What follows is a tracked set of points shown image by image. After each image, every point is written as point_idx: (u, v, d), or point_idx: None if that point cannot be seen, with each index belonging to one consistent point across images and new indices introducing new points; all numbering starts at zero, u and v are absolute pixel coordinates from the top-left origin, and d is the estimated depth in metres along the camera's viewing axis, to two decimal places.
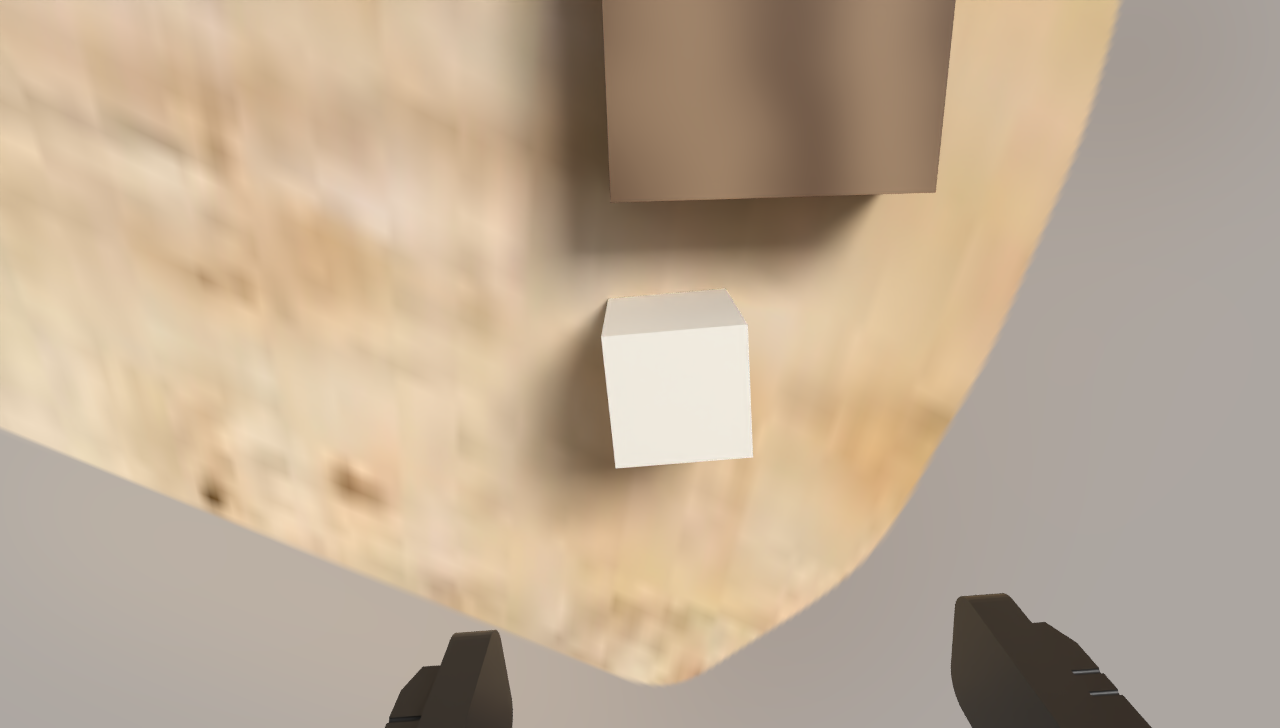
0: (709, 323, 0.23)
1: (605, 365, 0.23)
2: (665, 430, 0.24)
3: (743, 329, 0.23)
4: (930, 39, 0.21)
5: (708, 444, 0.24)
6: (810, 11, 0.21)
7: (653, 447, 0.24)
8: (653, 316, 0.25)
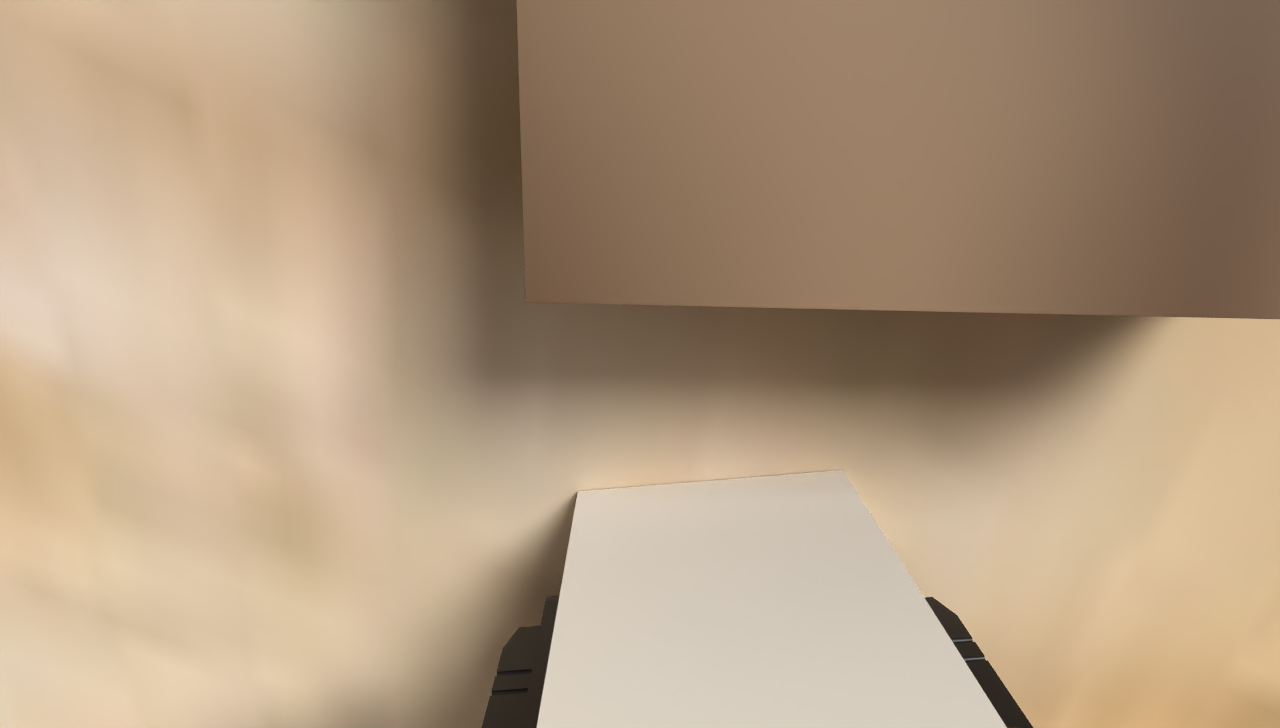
0: (874, 708, 0.07)
1: None
2: None
3: None
4: None
5: None
6: None
7: None
8: (690, 620, 0.09)
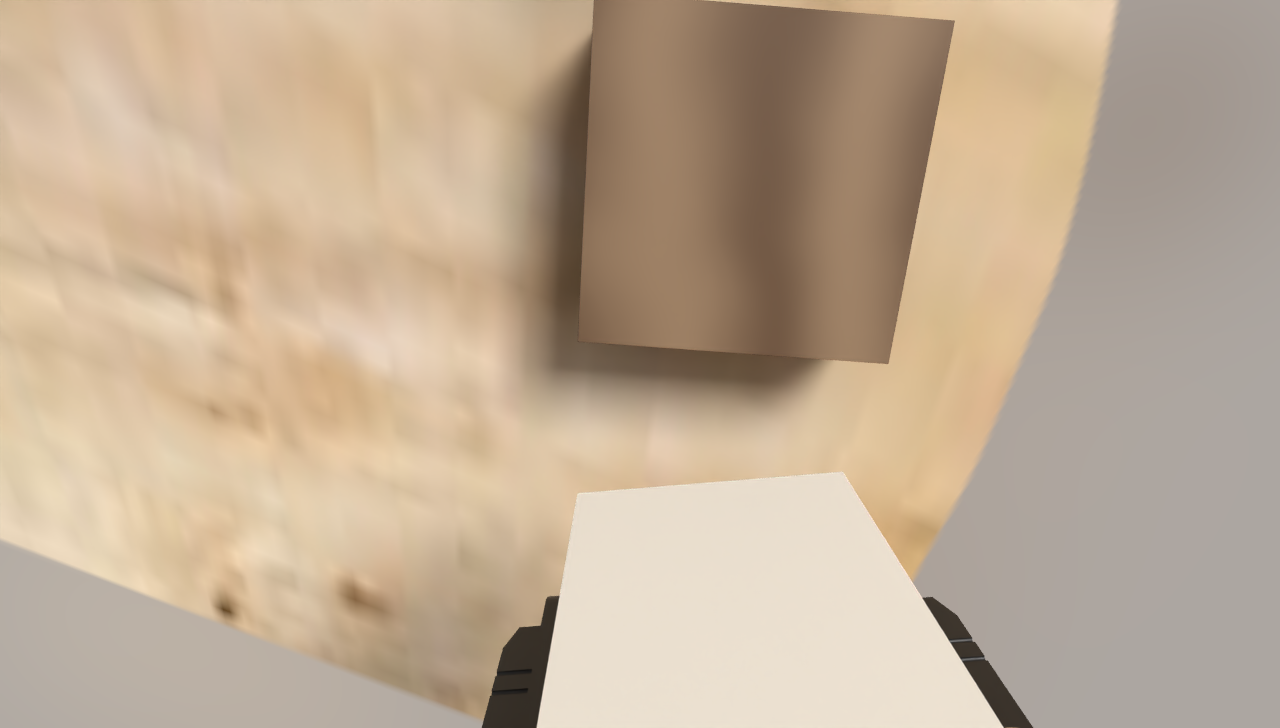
0: (872, 711, 0.07)
1: None
2: None
3: None
4: (894, 227, 0.22)
5: None
6: (783, 190, 0.22)
7: None
8: (690, 622, 0.09)
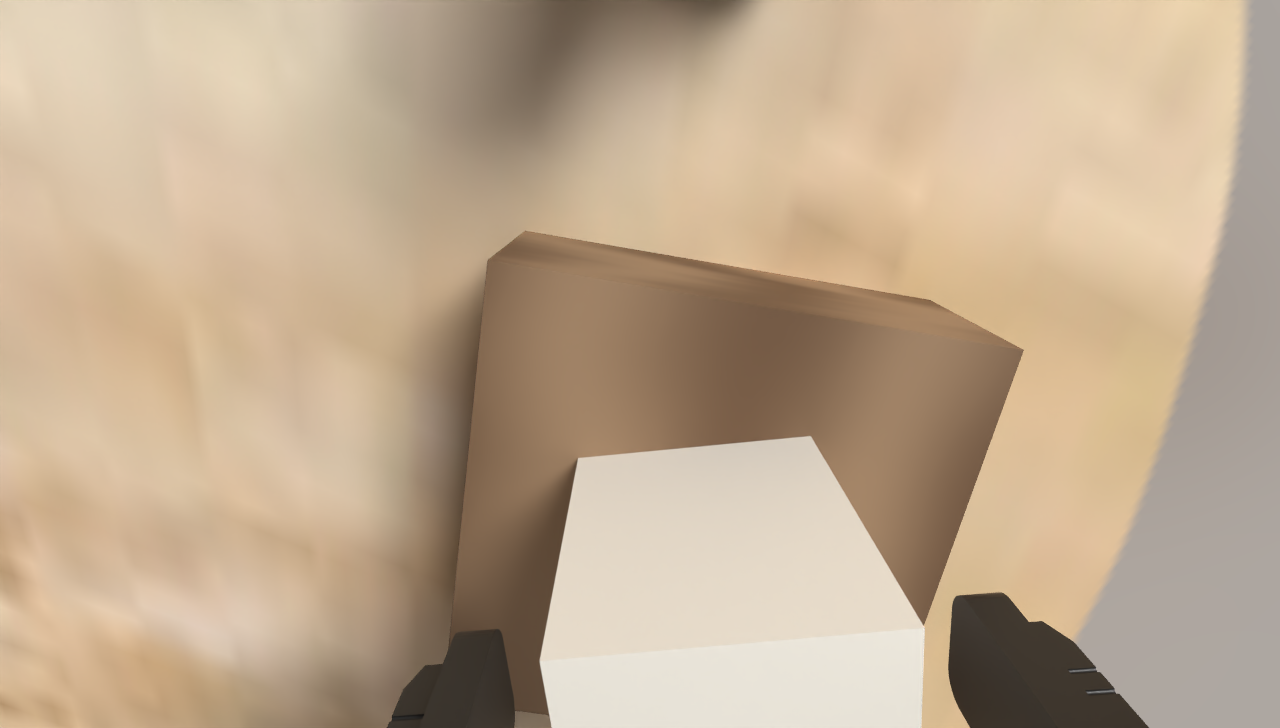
0: (816, 611, 0.09)
1: (553, 722, 0.09)
2: None
3: (912, 640, 0.09)
4: None
5: None
6: None
7: None
8: (672, 553, 0.11)
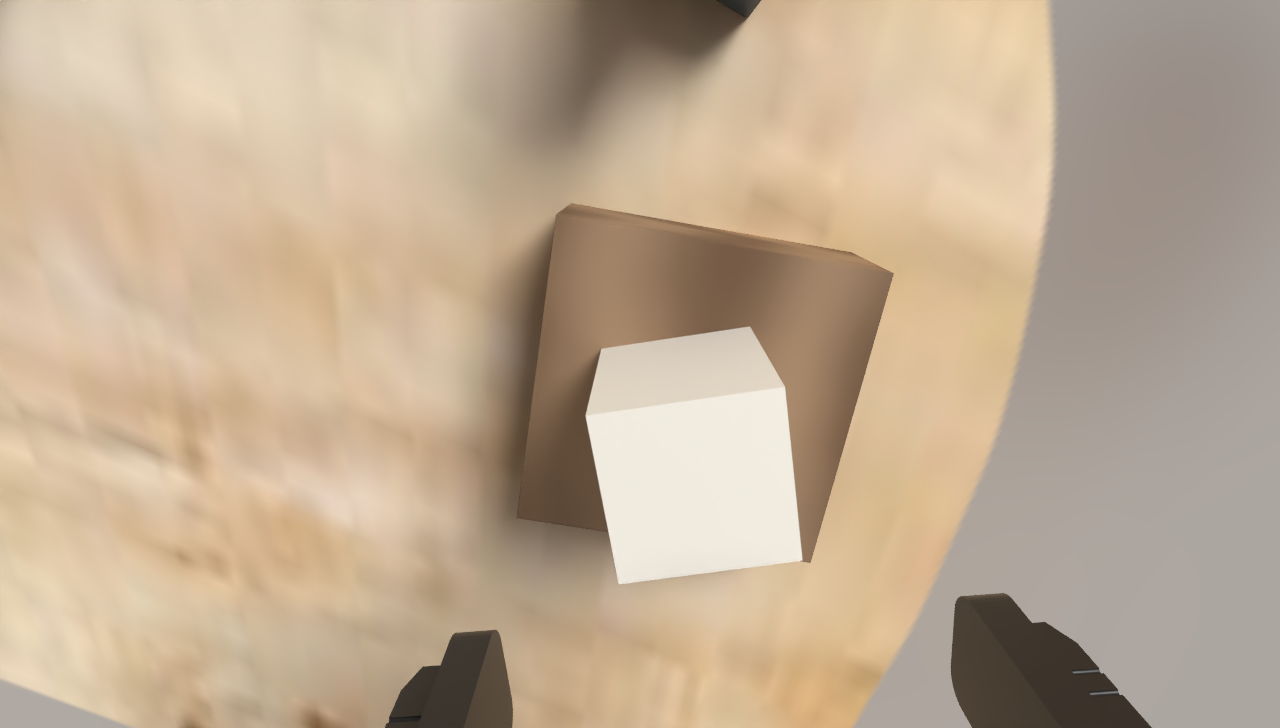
0: (731, 387, 0.17)
1: (594, 452, 0.17)
2: (681, 532, 0.18)
3: (779, 394, 0.17)
4: (824, 445, 0.24)
5: (741, 547, 0.18)
6: None
7: (666, 554, 0.18)
8: (657, 377, 0.19)
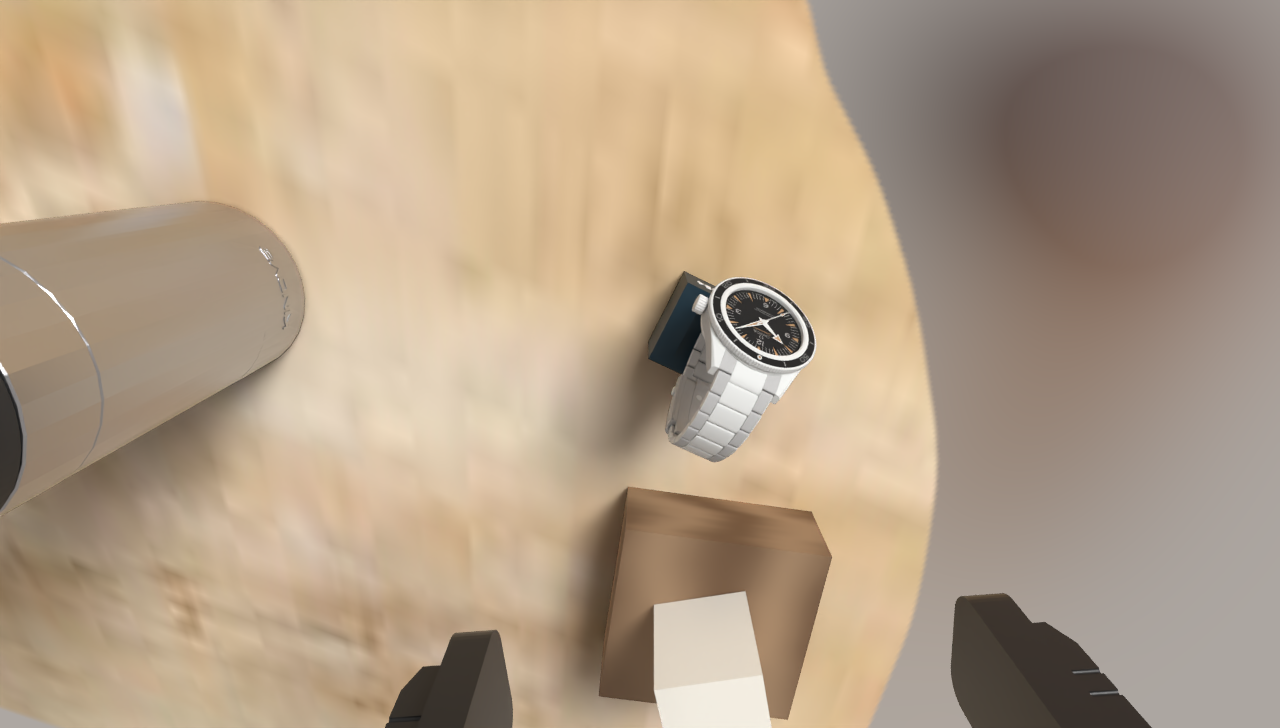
0: (733, 670, 0.31)
1: (658, 707, 0.31)
2: None
3: (759, 678, 0.30)
4: (794, 651, 0.37)
5: None
6: None
7: None
8: (691, 650, 0.33)
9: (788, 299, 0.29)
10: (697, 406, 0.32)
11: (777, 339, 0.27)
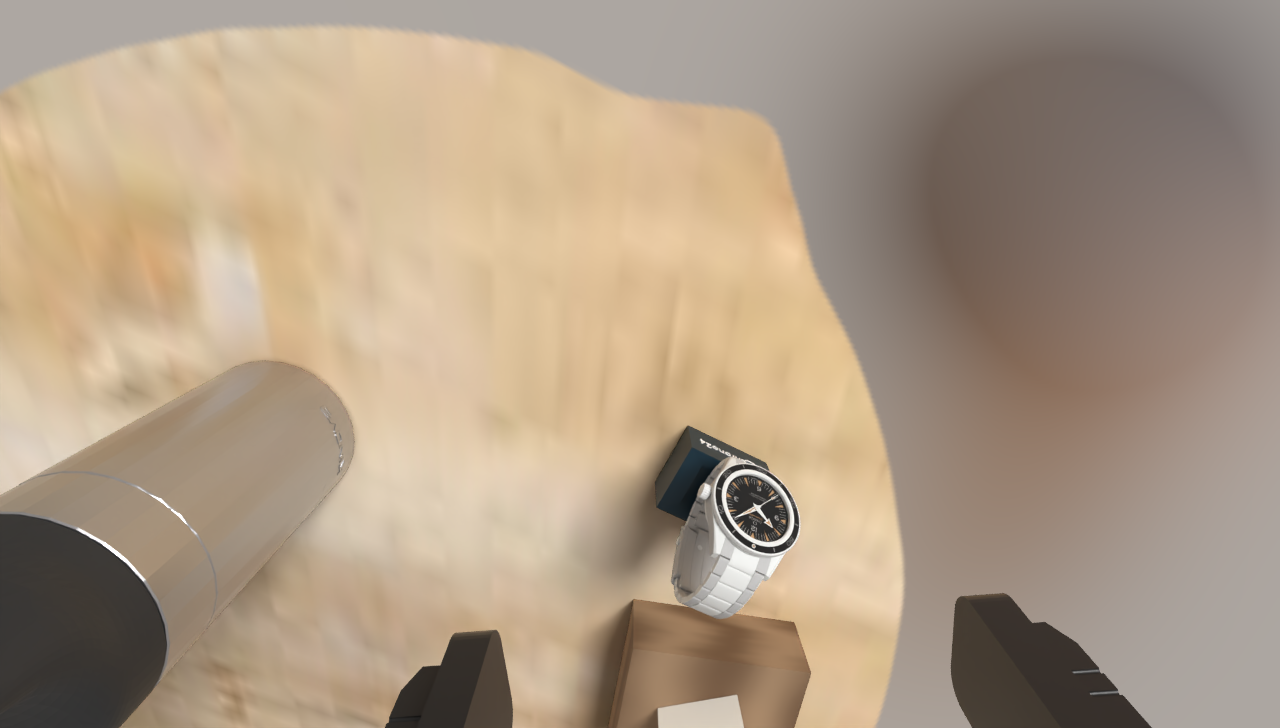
0: None
1: None
2: None
3: None
4: None
5: None
6: None
7: None
8: None
9: (778, 481, 0.34)
10: (698, 556, 0.37)
11: (768, 523, 0.33)
